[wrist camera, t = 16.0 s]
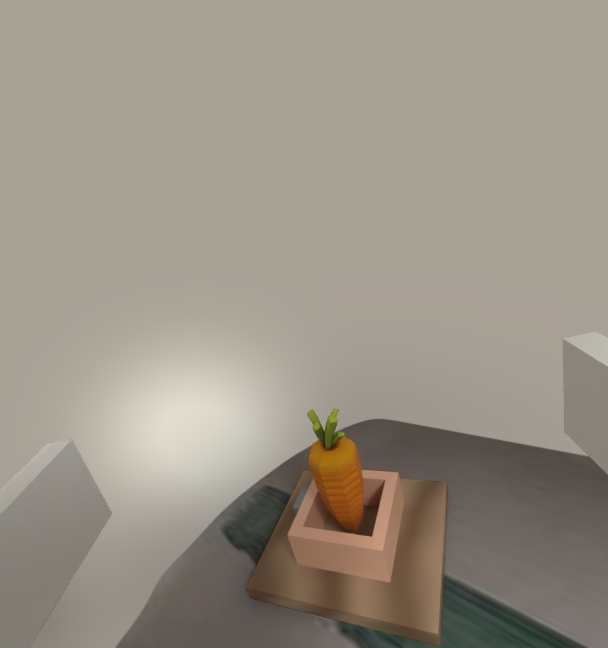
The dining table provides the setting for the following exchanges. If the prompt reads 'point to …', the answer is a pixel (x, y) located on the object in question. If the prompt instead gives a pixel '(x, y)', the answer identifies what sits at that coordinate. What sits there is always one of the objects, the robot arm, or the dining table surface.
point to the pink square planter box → (345, 548)
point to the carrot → (337, 472)
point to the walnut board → (363, 593)
